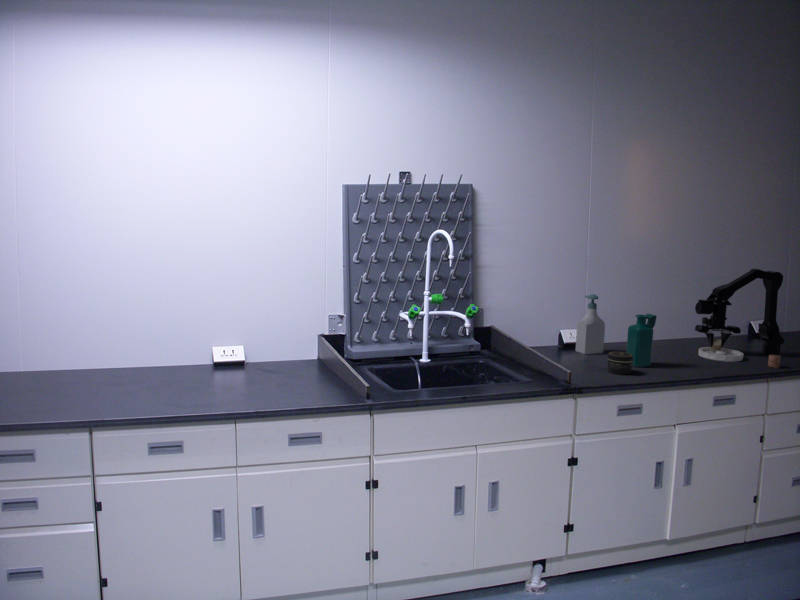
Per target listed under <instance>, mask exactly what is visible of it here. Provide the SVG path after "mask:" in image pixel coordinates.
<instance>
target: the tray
mask: <svg viewBox="0 0 800 600" xmlns="http://www.w3.org/2000/svg"><path fill="white" fill-rule="evenodd" d="M697 355H698V357H701V358H704V359H706V360H712V361H717V362H727V363H729V362H730V363H734V362H735V363H737V362H742V361H744V360H743V359H744V357H745V356H744V353H743V352H741V351H739V350H736V349H731V348H725V347H721V350H712V349H711V347H710V346H705V347H699V348H698V354H697Z"/></svg>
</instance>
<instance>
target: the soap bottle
mask: <svg viewBox="0 0 800 600" xmlns="http://www.w3.org/2000/svg"><path fill="white" fill-rule="evenodd" d="M584 298H587V299H589V300H591V301H590V302H589V303H588V304H587V310H586V314H585V316H584V317H582V319H580V320H578V322H577V326H576V339H575V352H576V353H580V354H582V355H595V354H603V353H604V348H605V347H604V346H605V335H606V334H605V332H606V324H605V322H604V320H603V319H602V318H601V317H600V316H599V315H598V312H597V309H598V307H597V306H598V305H597V303H595V300H599V296H598V295H597V294H593V293H591V294H589V295H584Z"/></svg>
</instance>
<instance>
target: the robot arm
mask: <svg viewBox="0 0 800 600" xmlns="http://www.w3.org/2000/svg"><path fill="white" fill-rule="evenodd" d="M757 279H760V280H762V285H763V286H764V288H765V299H764V317H763V321H762V323H761V322H759V323H758V330H757V332H758V334H759V336H760V337H761V340H762V341H763V344H762V348H761V351H760V354H762V355H765V356H767V357H769V355H778V356H781V357H782V355H781V346H782V345H783V344H784V343H785V339H784V338H783V336H781V334H780V333H781V332H780V326H779V324H778V322H777V312H778V311H777V310H778V294H779V290H780V288H781V287H782V284H783V282H784V275H783V274H782V273H781V272H779V271H774V270H762V269H759V268H751V269H750V270H749V271H748V272H745V273H744V274H743V275H740V276H739V277H737V278H735V279H733V281H730V282H729V283H725V284H722V285H719V286H717V287H714V288H713V289H712V292H711V293H710V294H709V296H708V297H707V298H706V299H698V302H697V303H696V304H695V307H694V310H695V313H696V314H697V315H710V317H709V318H708V317H705V316H703V317H702V318H701V324H696V325H695V327H694V331H695V332H698V333H701V334H702V333H703V334H705V335H706V337H707V341H708V344H709V347H712V345H713V338H715V333H713V332H720V339H722V345H721V348H723V346H724V344H725V343H726V342H727V340H728V339H729V338H730V336H733V334H741V333H742V332H741V328H740V327H739V326H736V325H726V321H727V320H728V317H727V309H728V308H727V307H728V306H732V304H733V303H731V302H730V300H729V299H731V297H733V296H734V295H735V293H736V292H737V291H739V290H740V289H742V288H744V287H746V286H747V285H748V284H750V283H752V282H753V281H755V280H757Z"/></svg>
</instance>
